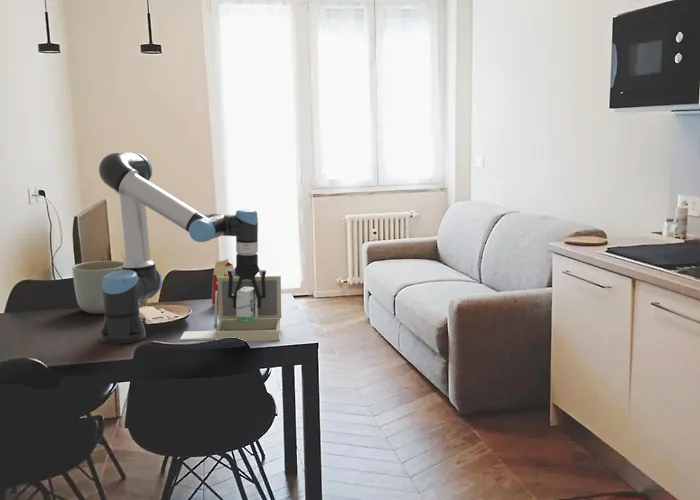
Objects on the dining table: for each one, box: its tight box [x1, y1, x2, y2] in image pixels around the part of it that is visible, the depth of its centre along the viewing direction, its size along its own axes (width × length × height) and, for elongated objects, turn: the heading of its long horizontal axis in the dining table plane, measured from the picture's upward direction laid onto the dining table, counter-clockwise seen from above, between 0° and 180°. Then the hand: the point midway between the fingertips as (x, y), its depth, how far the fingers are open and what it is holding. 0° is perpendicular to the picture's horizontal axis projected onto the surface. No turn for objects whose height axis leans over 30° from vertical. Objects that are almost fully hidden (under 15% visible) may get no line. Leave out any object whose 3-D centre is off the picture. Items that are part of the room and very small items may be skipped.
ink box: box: [237, 287, 257, 324], centre depth 239 cm, size 9×5×12 cm, turn 170°
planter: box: [72, 260, 126, 315], centre depth 273 cm, size 21×21×19 cm
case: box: [213, 275, 282, 342], centre depth 240 cm, size 24×17×20 cm
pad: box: [179, 330, 216, 341], centre depth 239 cm, size 13×9×1 cm
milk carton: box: [211, 258, 236, 308], centre depth 283 cm, size 9×9×20 cm
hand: (247, 316), depth 240 cm, fingers closed on ink box, 6 cm apart
